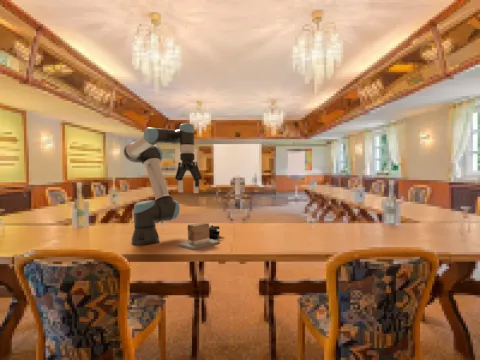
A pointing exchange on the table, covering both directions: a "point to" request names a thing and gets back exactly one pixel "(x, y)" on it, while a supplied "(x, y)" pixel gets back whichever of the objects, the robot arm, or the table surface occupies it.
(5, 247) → the table surface
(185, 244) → the gray board
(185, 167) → the robot arm
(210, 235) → the end cap
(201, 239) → the walnut box
